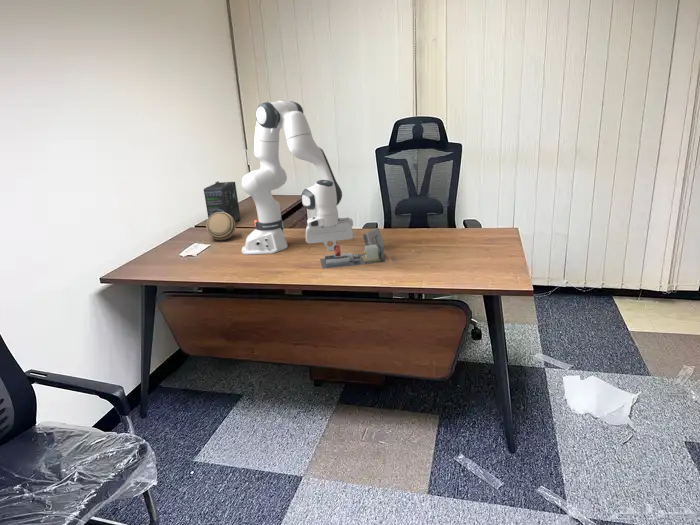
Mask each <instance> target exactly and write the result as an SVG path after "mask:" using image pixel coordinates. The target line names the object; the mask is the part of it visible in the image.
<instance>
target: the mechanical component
mask: <svg viewBox="0 0 700 525" xmlns="http://www.w3.org/2000/svg"><path fill="white" fill-rule="evenodd" d="M236 224H237V223H235V221H234V219H233V217H232V216H231V215H229V214H228V213H225V212H216V213H214V214H212V215H211V216H210V217H209V218H208V217H207V220H206V225H205V227H206V231H207V233H208V235H209V236H210V237H211V238H213V239H214V240H217V241H226V240H229V239H230V238H231V237H232V236H233V235H234V233H235V232H236V226H237V225H236Z"/></svg>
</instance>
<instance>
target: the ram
mask: <svg viewBox="0 0 700 525" xmlns="http://www.w3.org/2000/svg"><path fill="white" fill-rule="evenodd" d="M334 254H335V255H334ZM333 255H334V259H337V258H346V257H349V261H353V259H356V258H360V255H361V254H360V253H357V254H353V252H348V253H347V252H345V254H343V253H342V252H341V244H335V246H334V251H333Z"/></svg>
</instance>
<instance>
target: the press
mask: <svg viewBox="0 0 700 525" xmlns="http://www.w3.org/2000/svg"><path fill="white" fill-rule="evenodd" d="M377 247H378V259H373V260H367V259H366V257H365V254H364V255H363V253H362V254H360V258H356V259H353V261H349V257H346V258H337V259H334V255H335V253H333V254H326V255H324V258H320V259H319V260H320V265H321V268H322V270H324V269H333V268H343V267H351V266H359V265H369V264H378V263H386V260H385V247H384V246H383V245H382V243H381V242H380V241H377ZM345 253H346V252H345ZM345 253H342V254H345Z"/></svg>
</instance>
